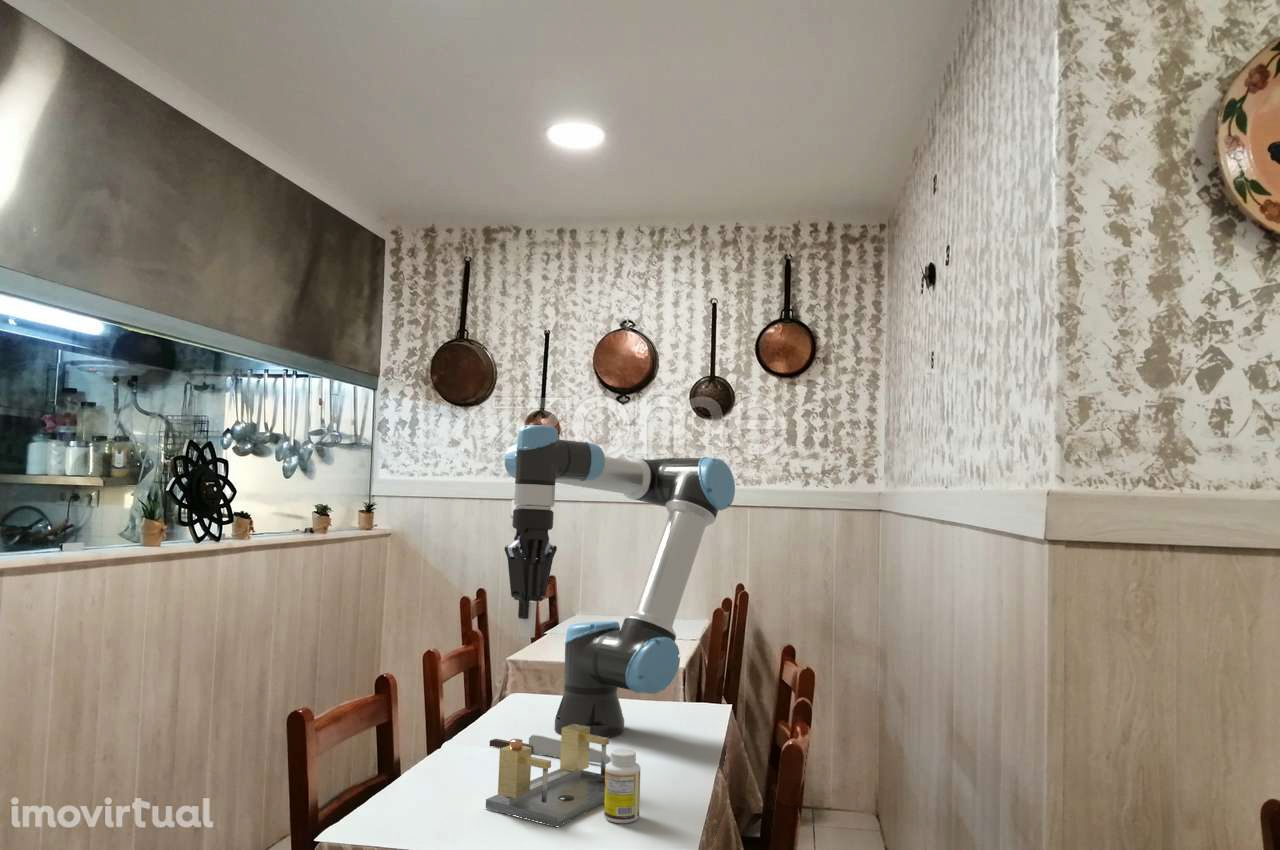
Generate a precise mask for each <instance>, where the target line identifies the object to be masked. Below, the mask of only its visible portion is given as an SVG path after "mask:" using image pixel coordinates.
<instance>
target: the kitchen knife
mask: <svg viewBox="0 0 1280 850" xmlns="http://www.w3.org/2000/svg"><path fill="white" fill-rule="evenodd" d="M509 745H510V740H505V739H500V738H493V739H490V740H489V747H490V746H495V747H500V748H499V749H501V748H503V747H506V746H509ZM522 746H527V747H532V751H531V753H535V754H534V755H537V754H542V755H541V756H543V755H548V756H547V757H551V756H555V757H554V758H556V757H559V758H558V759H560V758H561V739H558V738H554V737H553V738H552V737H549V736H545V735H540V734H532V735H530V737H528V743H525V742H522ZM495 747H494V748H495ZM601 752H602V750H601V749H600V750H599V749H596V748H594V747H591V746H589V763H595V764H597V763H598V764H601ZM610 757H611V755H609V754H607V753H606V765H607V764H608V763H609V762H611V759H610Z"/></svg>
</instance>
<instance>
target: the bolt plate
mask: <svg viewBox="0 0 1280 850" xmlns="http://www.w3.org/2000/svg"><path fill="white" fill-rule="evenodd" d="M542 779H543V775H541V776H538V777H537V778H534V779H530V792H529V793H527V794H525V795H522V796H520V797H518V798H512V797H508V796H504V795H500V794H498V793H497V794H495V795H493V796H490V797H488V798H486V799H485V809H486V808H487V809H490V810H489V811H491V810H493V811H492V812H495V811H497V812H496V813H499V812H501V813H500V814H503V813H506V814H510V815H516V816H519V817H522V818H527V819H530V820H534V821H538V822H542V823H545V824H549V825H552V826H559V825H561V824H563V823H565V822H567V821H569V820H571V821H573V820H575V819H576V817H577V818H579V817H580V815H581V816H583V815H584V813H585V814H587V813H589V812H590V810H591V811H592V809H593V810H594V808H595V809H597V808H598V807H600V806H602V805H605V775H604V776H602V775H601V773H598V772H594V771H588V770H585V769H584V770H582V771H579V772H573V771H568V770H564V769H560V768H558V769H556V770H553V771H551V772H548V783H547V802H546V803H542ZM487 809H486V810H487ZM588 811H589V812H588ZM586 812H587V813H586ZM506 814H505V815H506ZM582 814H583V815H582ZM510 815H509V816H510ZM578 816H579V817H578ZM522 818H521V819H522ZM574 818H575V819H574ZM572 819H573V820H572ZM569 822H570V821H569ZM567 823H568V822H567ZM545 824H544V825H545ZM565 824H566V823H565ZM563 825H564V824H563ZM552 826H551V827H552ZM561 826H562V825H561ZM559 827H560V826H559Z"/></svg>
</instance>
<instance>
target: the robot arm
mask: <svg viewBox="0 0 1280 850" xmlns="http://www.w3.org/2000/svg"><path fill="white" fill-rule="evenodd" d="M516 442H517V443H515V444H513V445H511V446H510V447H509V448H508V449H507V451H506V453H505V456H504V468H505V470H506V472H507V474H508V475H509V476H510V477H512V478H513V479H515V480H514V484H515V486H514V496H513V497H514V499H513V505H515V506H516V508H514V509H513V510H512V523H511V524H512V527H513V528H514V529H515V530H516V531H515V534H514V537H513V542H512V543H511V544H510V545H507V544H506V545H505V546H504V552H505V555H506V559H507V569H508V576H509V586H510V596H511V598H513V599H514V600H515V601H518V610H517V612H518V613H517V614H518V615H517V617H518V631H517V632H518V633H517V636H518V637H521V638H528V639H530V638H536V636H535V635H536V621H537V620H536V619H537V615H538V603H539V602H542V601H543V600H544V597H546V595H547V592H548V585H549V582H550V581H549V580H550V575H551V570H552V565H553V561H554V557H555V554H556V553H557V549H558V547H557V546H556V545H553V544H551V543H550V542H549V541H550V537H549V531H551V530H552V529H553V528H554V513H555V512H554V510H552V508H553V507H555V499H556V484H562V485H568V486H573V487H574V486H575V487H581V488H586V489H587V488H588V489H594V490H598V491H605V492H612V493H618V494H623V496H625V498H628V499H630V500H633V501H634V500H635V501H640V502H643V503H648V504H652V505H656V506H659V507H665V509H666V510H667V512H668V517H667V519H666V523H665V526H664V528H663V531H662V533H661V537H660V540H659V542H658V544H657V545H658V546H657V548H656V552H655V554H654V557H653V559H652V562H651V565H650V567H649V571H648V573H647V576H646V580H645V582H644V585H643V588H642V591H641V593H640V596H639V598H638V600H637V604H636V606H635V611H634V612H633V613H632V614H630V615H627V616H626V617H624V619H623V623H622V625H621V627H620V622H619V621H616V620H615V621H613V620H610V621H608V620H607V621H594V622H593V621H592V622H580V623H573V624H571V625H569V627H568V628H567V630H566V637H565V643H564V645H565V646H564V681H563V682H564V687H563V695H562V697H561V701H560V704H559V707H558V710H557V711H556V715H555V717H554V731H555V732H556V733H558V734H560V735H561V732H562V728H563V727H566V726H568V725H571V724H577V725H582V726H588V727H590V734H591V735H596V736H602V737H607V738H611V737H612V738H613V737H617V736H619V735H621V734H623V733H624V732H625V718H624V714H623V710H622V707H621V703H620V699H619V696H618V688H620V689H623V690H627V691H632V692H634V693H635V694H648V695H649V694H650V695H654V694H655V695H656V694H658V693H660V692H662V691H664V690H666V689H667V688H668V687H669V686H670V685H671V684H672V683H673V681H674V679H675V677H676V676H677V673H678V671H679V668H680V662H681V657H679V655H680V648H679V646H678V645H677V643H676V639H677V633H676V631H675V630H674V628H673V626H674V622H675V619H676V617H677V613H678V610H679V607H680V604H681V602H682V600H683V596H684V593H685V591H686V586H687V584H688V581H689V578H690V575H691V572H692V568H693V565H694V563H695V560H696V556H697V554H698V551H699V547H700V545H701V542H702V539H703V536H704V533H705V531H706V527H708V526H710V525H713V524H714V523H715V522H716V518H717V516H718V512H719V511H724V510H726V509H728V508H729V507H730V506H731V505H732V504H733V502H734V499H735V492H736V485H735V479H734V475H733V473H732V470H731V469H730V467H729V465H728V464H727V463H726V462H725V461H724V460H722V459H720V458H717V457H709V456H703V457H679V458H678V457H669V458H667V457H666V458H657V459H656V458H655V459H643V458H638V457H637V458H631V459H630V460H626V459H621V458H620V459H619V458H616V457H615V458H614V457H610V456H605V453H604V451H603V449H602V447H600V446H599V445H598V444H595V443H590V442H588V441H576V440H568V439H567V440H566V439H560V437H559V431H558V429H557V428H556V427H554V426H551V425H542V424H541V425H540V424H528V425H527V424H526V425H523V426H521V427H519V430H518V434H517V441H516Z"/></svg>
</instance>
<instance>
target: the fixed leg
mask: <svg viewBox="0 0 1280 850" xmlns="http://www.w3.org/2000/svg"><path fill="white" fill-rule="evenodd" d="M560 735H561V736H560V737H561V739H560V740H561V758H559V759H560V761H559V762H560V764H559V766H560V767H559V769H564V770H568V771H573V772H579V771H582V770H584V771H585V770H586V769H588V768H589V763H590V762H589V747H590V743H591V744H596V745H601V763H600V774H601V775H602V776H604V775H605V769H606V765H607V764H606V754H607V745H609V743H610V737H602V736H596V735H591V734H590V727H588V726H582V725H577V724H571V725H568V726H566V727H563V728H562V732H561V734H560Z"/></svg>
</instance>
